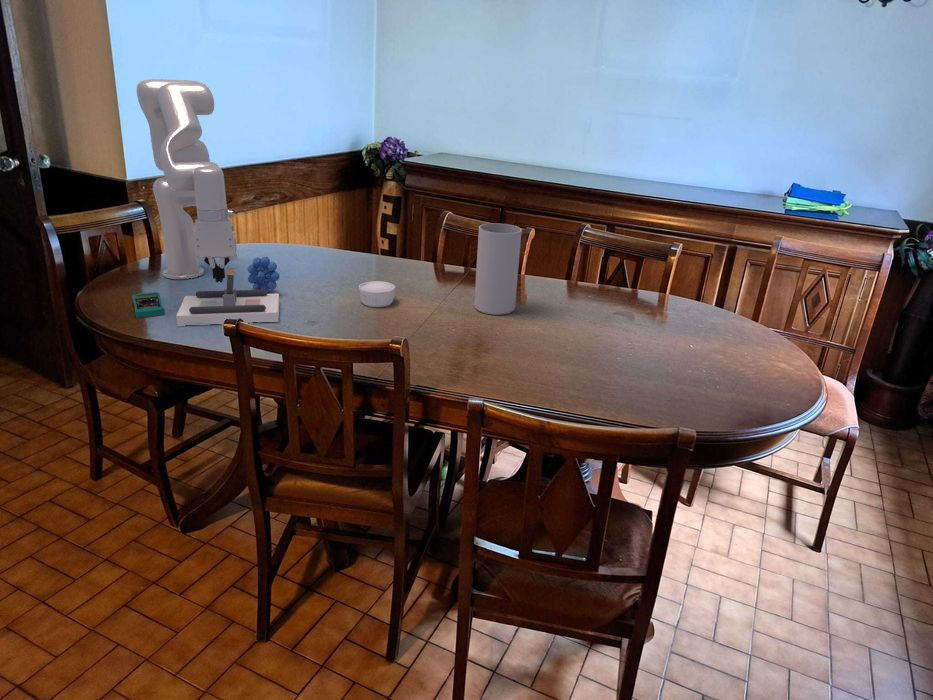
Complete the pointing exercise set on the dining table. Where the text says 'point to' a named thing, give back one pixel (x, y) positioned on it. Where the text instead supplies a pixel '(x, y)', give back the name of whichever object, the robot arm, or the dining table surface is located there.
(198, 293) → the pair of dark bars
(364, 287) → the ramekin
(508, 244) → the cylinder vase
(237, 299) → the switch base plate
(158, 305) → the digital multimeter
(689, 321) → the dining table surface
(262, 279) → the grapes
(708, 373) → the dining table surface
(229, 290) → the breaker lever
